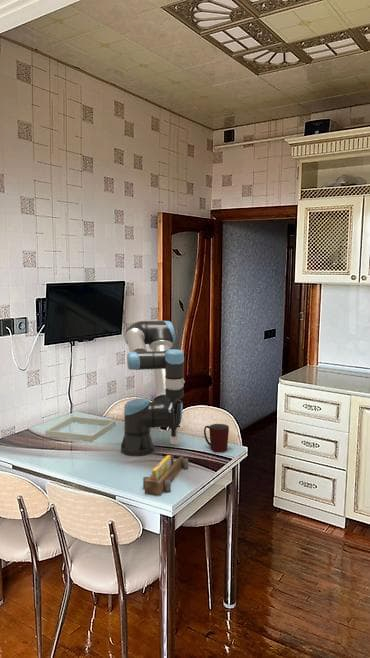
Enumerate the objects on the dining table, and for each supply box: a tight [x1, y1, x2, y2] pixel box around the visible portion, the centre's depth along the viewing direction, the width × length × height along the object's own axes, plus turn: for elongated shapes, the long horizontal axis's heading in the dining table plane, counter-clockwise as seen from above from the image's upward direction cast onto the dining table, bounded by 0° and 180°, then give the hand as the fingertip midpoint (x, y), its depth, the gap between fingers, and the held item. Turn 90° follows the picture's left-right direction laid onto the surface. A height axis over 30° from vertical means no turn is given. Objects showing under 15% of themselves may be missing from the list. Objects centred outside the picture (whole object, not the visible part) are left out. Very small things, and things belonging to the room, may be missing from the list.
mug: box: [203, 423, 230, 453], centre depth 228 cm, size 12×9×11 cm
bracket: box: [142, 454, 189, 497], centre depth 195 cm, size 11×28×5 cm, turn 163°
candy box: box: [151, 454, 172, 481], centre depth 192 cm, size 16×2×8 cm, turn 162°
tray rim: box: [44, 415, 117, 443], centre depth 255 cm, size 26×26×3 cm
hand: (174, 443), depth 206 cm, fingers closed
